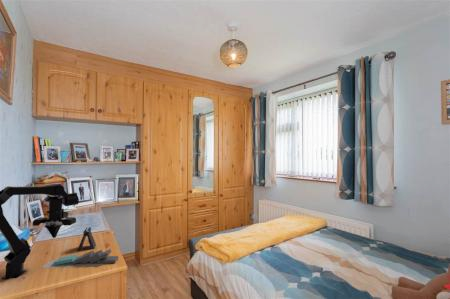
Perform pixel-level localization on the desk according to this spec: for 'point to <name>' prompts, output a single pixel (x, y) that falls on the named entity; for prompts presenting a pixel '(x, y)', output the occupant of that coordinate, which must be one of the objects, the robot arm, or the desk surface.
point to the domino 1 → (65, 259)
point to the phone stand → (90, 238)
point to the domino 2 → (83, 257)
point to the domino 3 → (92, 257)
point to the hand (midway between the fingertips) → (54, 237)
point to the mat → (70, 264)
